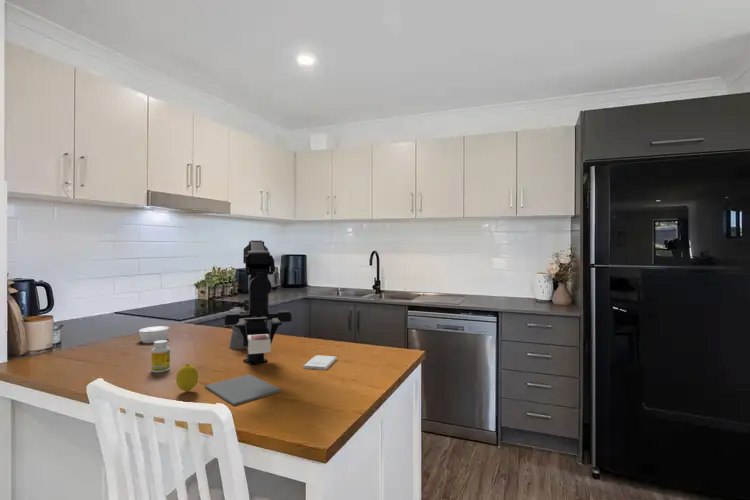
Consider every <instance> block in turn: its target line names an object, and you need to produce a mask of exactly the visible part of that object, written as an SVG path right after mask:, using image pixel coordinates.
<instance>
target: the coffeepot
mask: <svg viewBox="0 0 750 500" xmlns="http://www.w3.org/2000/svg"><path fill="white" fill-rule="evenodd" d="M238 305H239V306H238V307H237V306H232V307H231V309H229V313H230V312H240V315H247V314H249V311H244V302H239V303H238ZM245 322H247V321H245ZM231 328H232V331H231V336H230V341H229V348H230V349H232V350H247V347H246V346H244V347H243V335H242V333H241V331H240V330H239V328H238V327H235V325H231Z"/></svg>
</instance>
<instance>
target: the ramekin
mask: <svg viewBox="0 0 750 500" xmlns="http://www.w3.org/2000/svg"><path fill="white" fill-rule="evenodd" d="M169 331H170V327H169V326H165V325H162V326H161V325H160V326H159V325H158V326H156V325H155V326H149V327H148V326H147V327H143V328H140V329H139V330H138V333H139V337H140V341H141V343H143V344H154V342H155V341H159V340H167V339H168V335H169Z"/></svg>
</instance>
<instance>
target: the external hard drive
mask: <svg viewBox="0 0 750 500" xmlns="http://www.w3.org/2000/svg"><path fill="white" fill-rule="evenodd" d="M337 359H338V358H337V356H335V355H334V356H332V355H318V354H317V355H314V357H312V358H311V359H309V361H307V362H306V363H305V364H304V365H303V366H302V368H303V369H308V370H319V371H320V370H322V371H323V370H324V371H327V369H329V368H330V367H331V366H332V364H334V362H336V361H337Z"/></svg>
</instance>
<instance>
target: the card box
mask: <svg viewBox="0 0 750 500" xmlns="http://www.w3.org/2000/svg"><path fill="white" fill-rule="evenodd" d="M271 345H272V343H271V340H270V337H269V335H268V334H258V335H248V353H249V354H257V353H264V354H269V353H271Z"/></svg>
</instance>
